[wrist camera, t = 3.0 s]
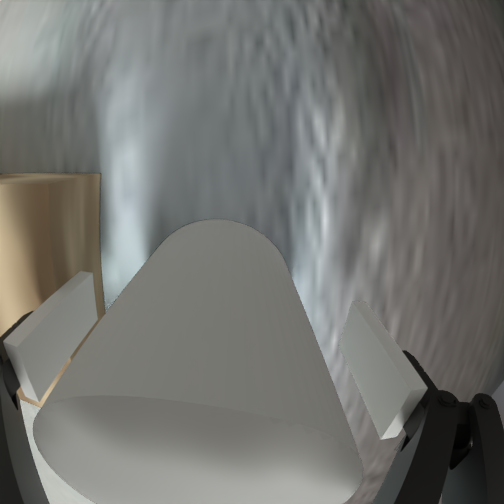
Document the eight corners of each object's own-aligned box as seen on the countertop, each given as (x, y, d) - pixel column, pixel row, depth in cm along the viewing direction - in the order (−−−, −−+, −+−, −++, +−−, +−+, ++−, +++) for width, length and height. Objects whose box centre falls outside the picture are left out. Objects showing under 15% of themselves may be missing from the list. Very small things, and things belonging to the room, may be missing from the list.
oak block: (-12, 335, 17) (-42, 365, 12) (-39, 176, 13) (-84, 188, 8) (115, 376, 18) (92, 426, 13) (100, 173, 14) (48, 184, 9)
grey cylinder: (167, 354, 18) (121, 525, 6) (132, 231, 15) (-23, 375, 4) (294, 340, 18) (343, 522, 6) (283, 209, 15) (395, 362, 4)
